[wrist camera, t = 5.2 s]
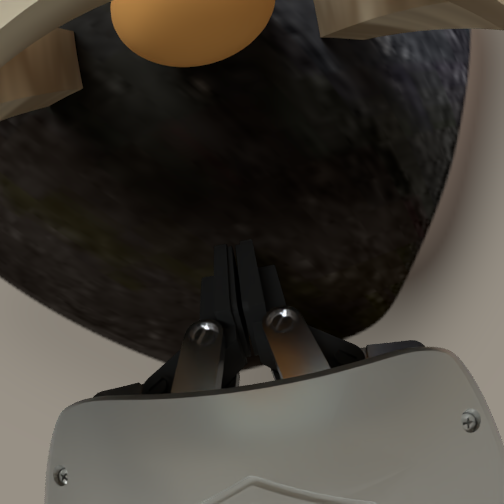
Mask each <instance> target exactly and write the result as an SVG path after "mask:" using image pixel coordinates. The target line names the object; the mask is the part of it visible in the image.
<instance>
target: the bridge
mask: <svg viewBox="0 0 504 504" xmlns="http://www.w3.org/2000/svg"><path fill="white" fill-rule="evenodd" d="M110 1H113V0H0V121H1V120H4V119H7V118H10V117H13V116H16V115H19V114H22V113H26V112H29V111H33V110H36V109H40V108H44V107H48V106H50V105H52V104H54V103H55V102H57V101H59V100H61V99H63V98H65V97H67V96H69V95H71V94H73V93H75V92H77V91H79V90H81V89H83V85H82V80H81V75H80V70H79V64H78V58H77V52H76V45H75V38H74V32H73V31H69V30H65V29H60V28H58V27H60V26H62V25H63V24H65V23H67V22H69V21H70V20H72V19H74V18H76V17H78V16H80V15H82V14H84V13H86V12H88V11H90V10H92V9H94V8H96V7H99V6H101V5H103V4H105V3H108V2H110ZM313 1H314V5H315V10H316V15H317V20H318V26H319V32H320V37H321V38H344V39H358V40H365V39H370V38H375V37H381V36H386V35H392V34H399V33H406V32H414V31H424V30H436V29H461V28H470V29H495V30H504V0H313Z"/></svg>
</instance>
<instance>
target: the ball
mask: <svg viewBox="0 0 504 504" xmlns="http://www.w3.org/2000/svg"><path fill="white" fill-rule="evenodd" d="M274 5H275V0H113V1H111V17H112V22H113V25H114V28H115V30H116V32H117V34H118V36H119V37H120V39H121V40H122V41H123V43H124V44H125V45H126V46H127V47H128V48H129V49H131V50H132V51H133V52H134V53H136V54H137V55H139V56H141V57H143V58H145V59H147V60H149V61H151V62H154V63H158V64H161V65H166V66H173V67H195V66H202V65H207V64H211V63H215V62H218V61H220V60H223V59H225V58H228V57H230V56H232V55H234V54H236V53H237V52H239V51H240V50H242V49H244V48H245V47H246V46H248V45H249V44H250V43H251V42H252V41H253V40H255V39H256V37H257V36H258V35H259V34H260V33H261V32H262V31H263V29H264V28H265V26H266V25H267V23H268V21H269V19H270V17H271V15H272V12H273V9H274Z"/></svg>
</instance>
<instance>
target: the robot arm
mask: <svg viewBox="0 0 504 504" xmlns="http://www.w3.org/2000/svg"><path fill="white" fill-rule="evenodd" d="M236 255H237V264H238V270H237V266H236V261H235V257H234V253H233V248H232V246H230V247H227V244H223V245H218V246H214V276H210V277H204V278H202V283H201V304H200V320H199V321H197V322H195V323H193V324H192V325H190V326H189V328H188V329H187V330H186V333H185V335H184V339H183V343H182V347H181V350H180V351H179V352H177V353H176V354H175V355H174V356H173V357H172V358H171V359H170V360H168V361H167V362H166V363H165V364H164V365H163V366H162V367H161V368H160V369H159V370H157V371H156V372H155V373H154V374H153V375H152V376H151V377H149V378H148V379H147V381H146V382H145V383H144V384H142V385H141V384H140V383H135V384H131V385H127V386H123V387H119V388H115V389H110V390H106V391H102V392H100V393H97V394H96V395H95V396H94V397H93V398H89V399H85V400H82V401H79V402H76V403H74V404H72V405H70V406H68V407H67V408H65V409H64V410H63V411H62V413H61V414H60V416H59V418H58V420H57V422H56V425H55V428H54V432H53V436H52V440H51V444H50V450H49V456H48V462H47V471H46V483H45V485H46V486H45V504H504V446H503V443H502V439H501V436H500V434H499V431H498V429H497V426H496V423H495V421H494V419H493V416H492V414H491V412H490V409H489V407H488V405H487V403H486V400H485V399H484V396H483V394H482V392H481V391H480V389H479V387H478V385H477V383H476V381H475V380H474V378H473V376H472V375H471V373H470V372H469V370H468V369H467V367H466V366H465V365H464V363H463V362H462V361H461V360H460V359H459V357H457V356H456V355H455V354H454V353H453V352H451V351H449V350H446V349H443V348H438V347H425V346H424V345H423V344H422V343H420V342H418V341H413V340H409V341H401V342H392V343H383V344H372V345H367V346H366V348H359V347H358V346H356V345H354V344H352V343H349V342H347V341H345V340H342V339H340V338H337V337H335V336H333V335H330V334H328V333H325V332H323V331H321V330H318V329H316V328H314V327H311V326H309V325H307V324H306V322H305V320H304V318H303V317H302V315H301V313H300V312H299V311H298V310H297V309H295V308H293V307H290V306H286V303H285V299H284V296H283V292H282V289H281V285H280V282H279V278H278V275H277V271H276V268H275V265H269V266H264V267H259V268H258V267H257V262H256V257H255V252H254V247H253V243H252V239H250V240H244V241H240V245H236ZM238 273H239V274H238ZM247 327H248V328H247ZM248 331H249V335H250V339H251V342H252V346H253V350H254V354H255V356H256V355H259V357H260V361H261V363H262V364H264V365H266V366H268V367H270V368H271V371H272V374H273V377H274V379H275V381H270V382H265V383H259V384H253V385H247V386H239V380H240V375H239V371H240V370H241V369H242V368H243V367H244V366H245V365H246V364H247V357H250V356H251V351H250V343H249V336H248Z"/></svg>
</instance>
